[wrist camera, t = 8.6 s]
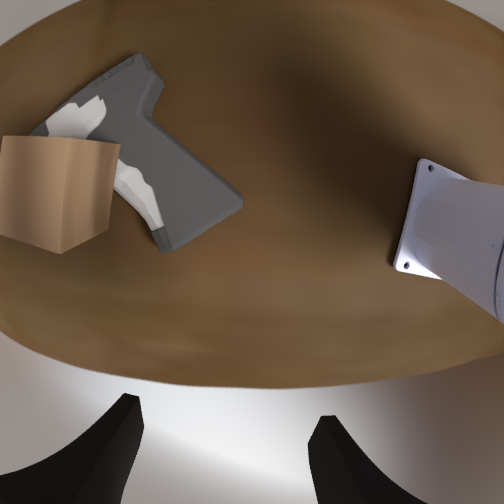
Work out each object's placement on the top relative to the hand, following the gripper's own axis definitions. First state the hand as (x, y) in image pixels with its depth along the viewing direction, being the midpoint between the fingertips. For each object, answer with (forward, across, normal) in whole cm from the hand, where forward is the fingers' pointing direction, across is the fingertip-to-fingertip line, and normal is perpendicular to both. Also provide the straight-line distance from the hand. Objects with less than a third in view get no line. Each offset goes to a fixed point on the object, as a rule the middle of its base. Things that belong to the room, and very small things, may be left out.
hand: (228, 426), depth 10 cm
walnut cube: (+8, +10, -8) cm, 15 cm away
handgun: (+11, +11, -7) cm, 17 cm away
